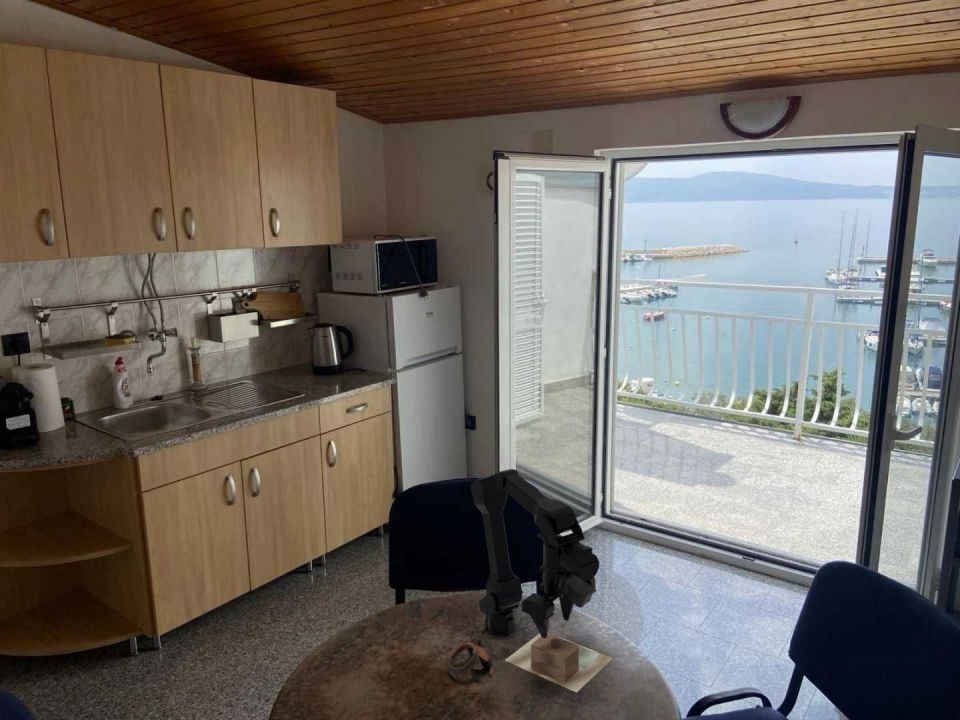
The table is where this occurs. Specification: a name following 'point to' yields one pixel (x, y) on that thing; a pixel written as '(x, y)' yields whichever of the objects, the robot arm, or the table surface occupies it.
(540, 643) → the walnut cover
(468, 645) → the pottery mug
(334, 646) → the table surface
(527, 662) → the serving board
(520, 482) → the robot arm
